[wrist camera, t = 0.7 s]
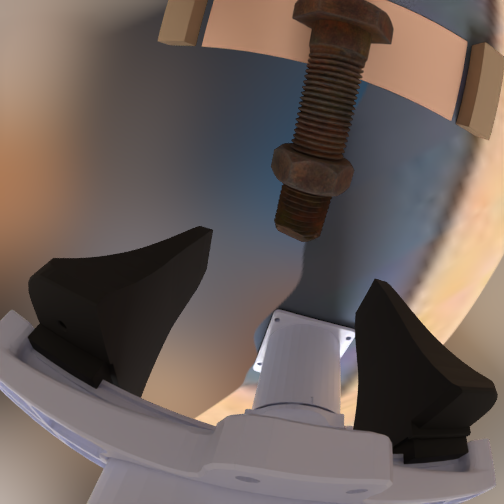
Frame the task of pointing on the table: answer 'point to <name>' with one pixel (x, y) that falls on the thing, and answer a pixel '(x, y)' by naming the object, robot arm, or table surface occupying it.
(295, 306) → the table surface
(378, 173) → the table surface
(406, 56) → the strip
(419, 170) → the table surface
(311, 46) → the bolt
